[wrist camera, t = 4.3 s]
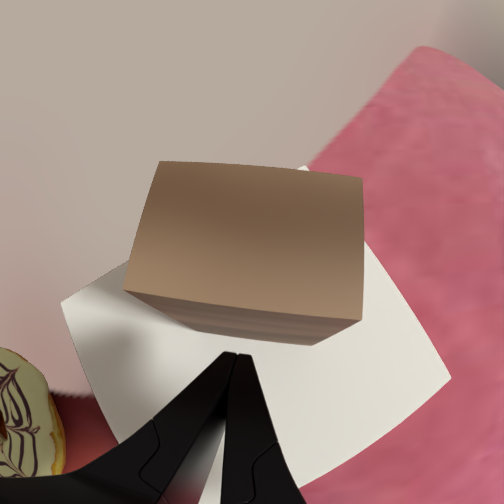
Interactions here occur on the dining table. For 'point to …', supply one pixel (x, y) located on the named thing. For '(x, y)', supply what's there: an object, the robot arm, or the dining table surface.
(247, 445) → the robot arm
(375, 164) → the dining table surface
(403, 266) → the dining table surface
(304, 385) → the rubber mat
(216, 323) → the walnut block
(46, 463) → the decorated donut
